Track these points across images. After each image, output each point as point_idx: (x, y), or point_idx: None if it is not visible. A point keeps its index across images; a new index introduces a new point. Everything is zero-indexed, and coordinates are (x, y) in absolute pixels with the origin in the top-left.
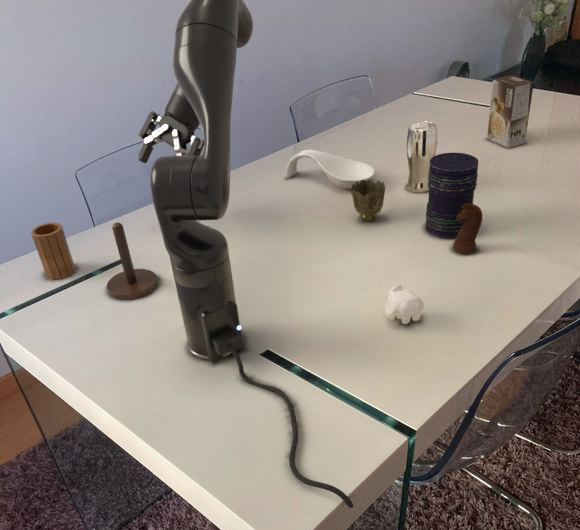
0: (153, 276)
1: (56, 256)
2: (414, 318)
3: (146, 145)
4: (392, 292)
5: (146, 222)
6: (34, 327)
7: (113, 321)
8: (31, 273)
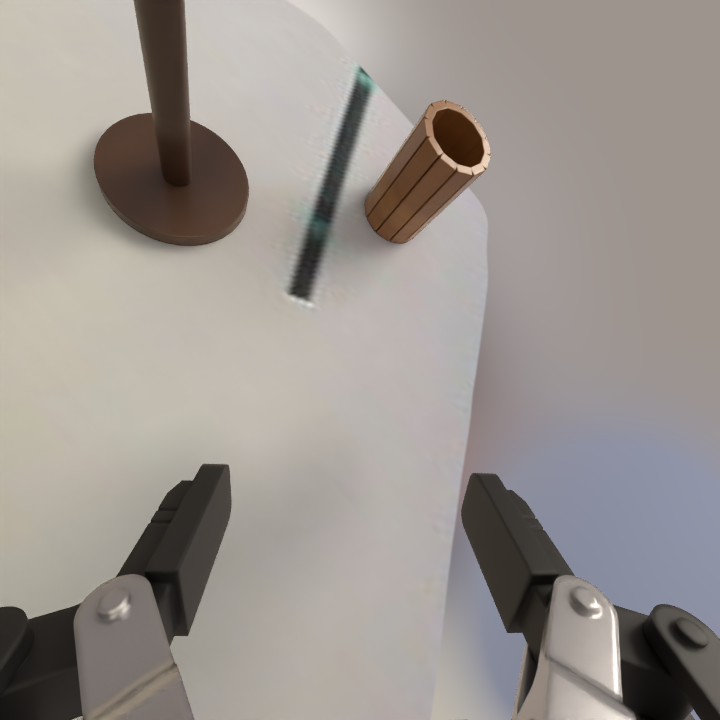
0: (125, 204)
1: (394, 156)
2: None
3: (539, 567)
4: None
5: (391, 489)
6: (280, 30)
7: (114, 41)
8: None
